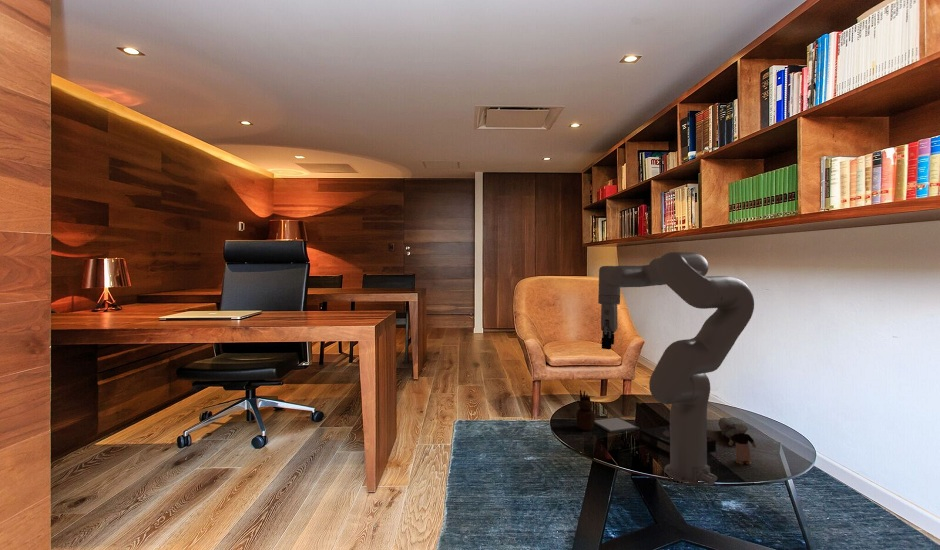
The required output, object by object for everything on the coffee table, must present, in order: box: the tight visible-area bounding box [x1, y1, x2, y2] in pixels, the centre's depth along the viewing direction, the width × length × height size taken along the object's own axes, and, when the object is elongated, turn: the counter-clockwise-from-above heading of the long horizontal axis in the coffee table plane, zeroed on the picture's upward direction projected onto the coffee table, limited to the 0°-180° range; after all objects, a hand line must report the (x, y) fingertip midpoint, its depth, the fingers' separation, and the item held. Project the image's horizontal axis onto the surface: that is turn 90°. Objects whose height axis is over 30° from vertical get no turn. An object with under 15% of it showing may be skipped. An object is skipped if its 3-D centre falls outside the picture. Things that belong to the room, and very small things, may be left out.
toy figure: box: [728, 421, 757, 466], centre depth 129 cm, size 8×4×13 cm, turn 92°
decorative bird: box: [718, 416, 739, 446], centre depth 149 cm, size 5×16×8 cm, turn 165°
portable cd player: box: [638, 424, 717, 456], centre depth 143 cm, size 16×17×4 cm
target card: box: [594, 416, 641, 434], centre depth 162 cm, size 13×13×1 cm
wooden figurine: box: [575, 389, 596, 431], centre depth 158 cm, size 7×6×15 cm
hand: (607, 346), depth 151 cm, fingers open, 9 cm apart
